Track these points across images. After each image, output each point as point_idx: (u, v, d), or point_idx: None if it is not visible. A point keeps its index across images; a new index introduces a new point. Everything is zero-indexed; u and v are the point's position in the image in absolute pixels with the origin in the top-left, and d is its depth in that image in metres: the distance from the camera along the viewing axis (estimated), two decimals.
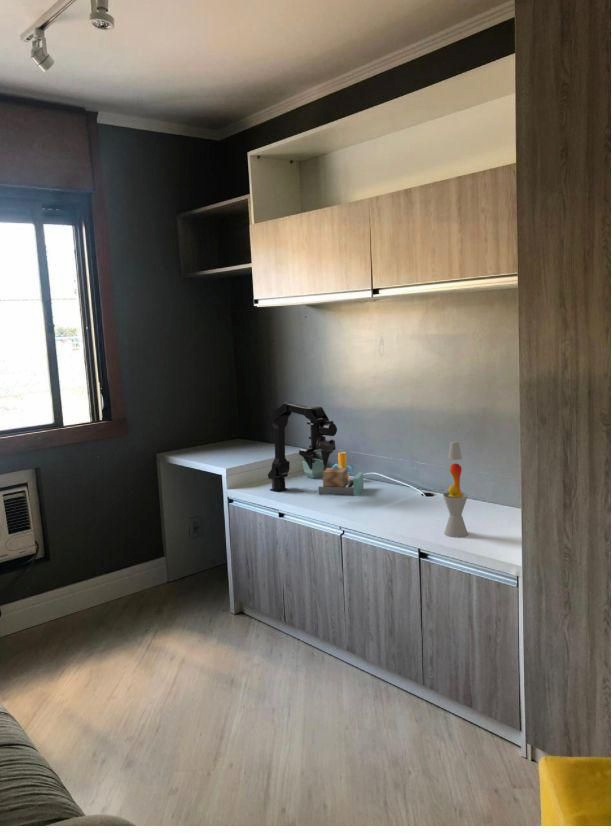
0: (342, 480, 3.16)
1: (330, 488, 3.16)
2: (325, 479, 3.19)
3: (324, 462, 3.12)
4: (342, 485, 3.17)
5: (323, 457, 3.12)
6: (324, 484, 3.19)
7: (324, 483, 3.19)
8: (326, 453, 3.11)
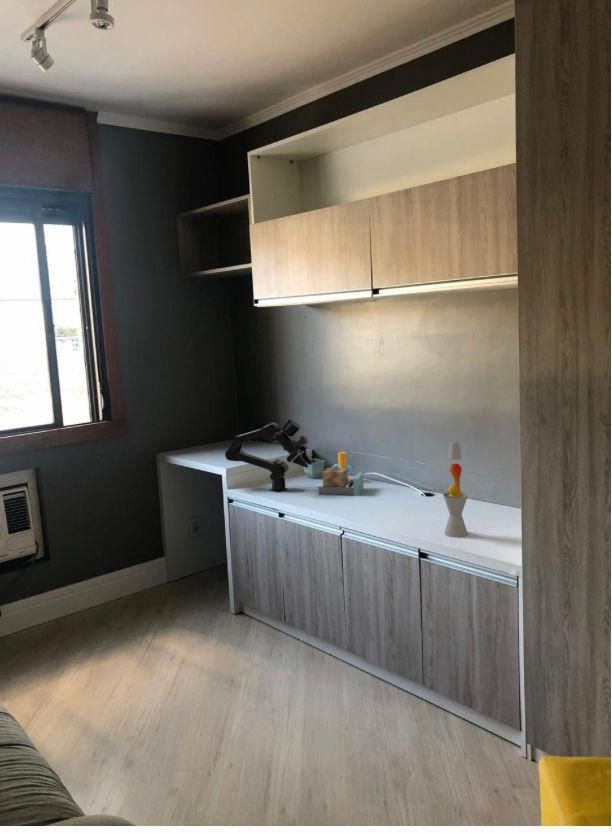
0: (342, 480, 3.16)
1: (330, 488, 3.16)
2: (325, 479, 3.19)
3: (308, 462, 3.28)
4: (342, 485, 3.17)
5: (304, 459, 3.28)
6: (324, 484, 3.19)
7: (324, 483, 3.19)
8: (303, 454, 3.28)
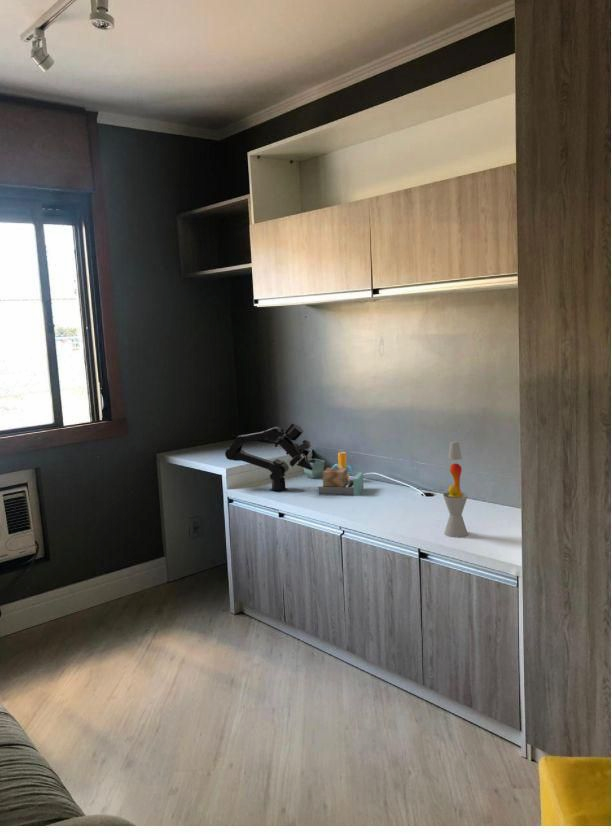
0: (342, 480, 3.16)
1: (330, 488, 3.16)
2: (325, 479, 3.19)
3: None
4: (342, 485, 3.17)
5: None
6: (324, 484, 3.19)
7: (324, 483, 3.19)
8: None
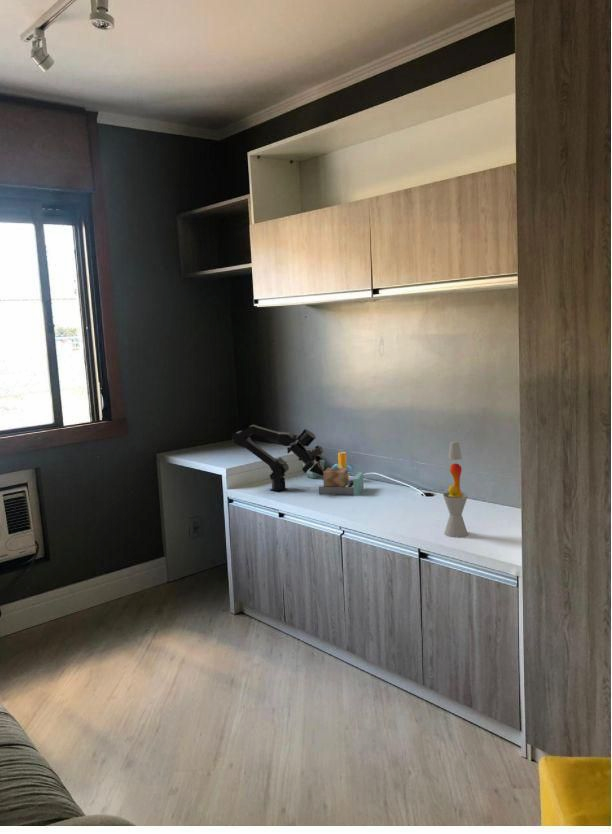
0: (343, 480, 3.16)
1: (330, 488, 3.16)
2: (325, 479, 3.19)
3: None
4: (343, 485, 3.17)
5: None
6: (325, 484, 3.19)
7: (325, 483, 3.19)
8: None
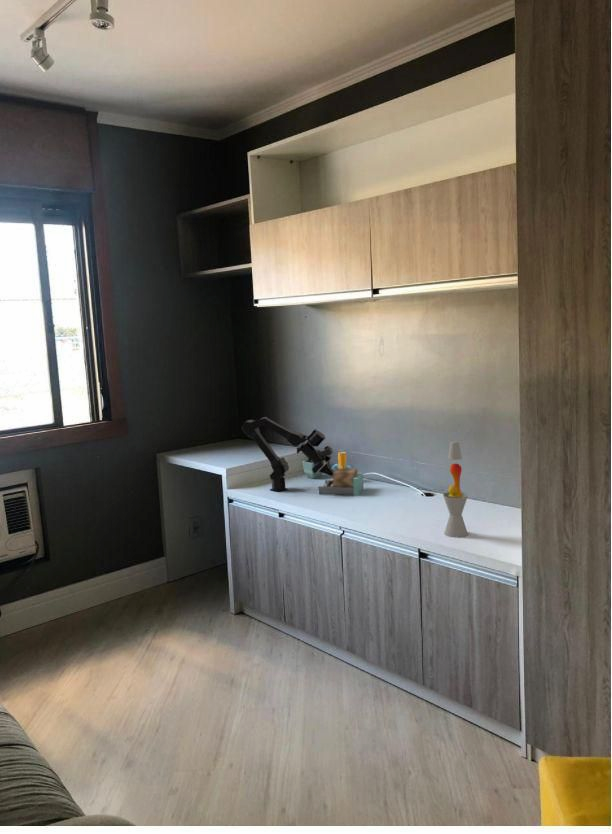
0: (352, 480, 3.15)
1: (330, 488, 3.16)
2: (335, 480, 3.17)
3: None
4: (352, 485, 3.15)
5: None
6: (334, 484, 3.18)
7: (334, 483, 3.18)
8: None
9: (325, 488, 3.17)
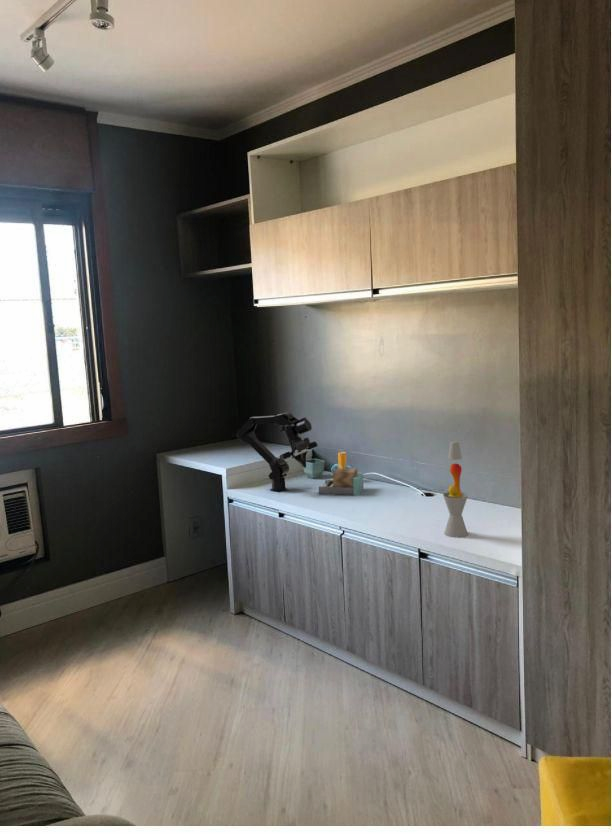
0: (352, 480, 3.15)
1: (330, 488, 3.16)
2: (335, 480, 3.17)
3: None
4: (352, 485, 3.15)
5: None
6: (334, 484, 3.18)
7: (334, 483, 3.18)
8: (302, 455, 3.22)
9: (325, 488, 3.17)
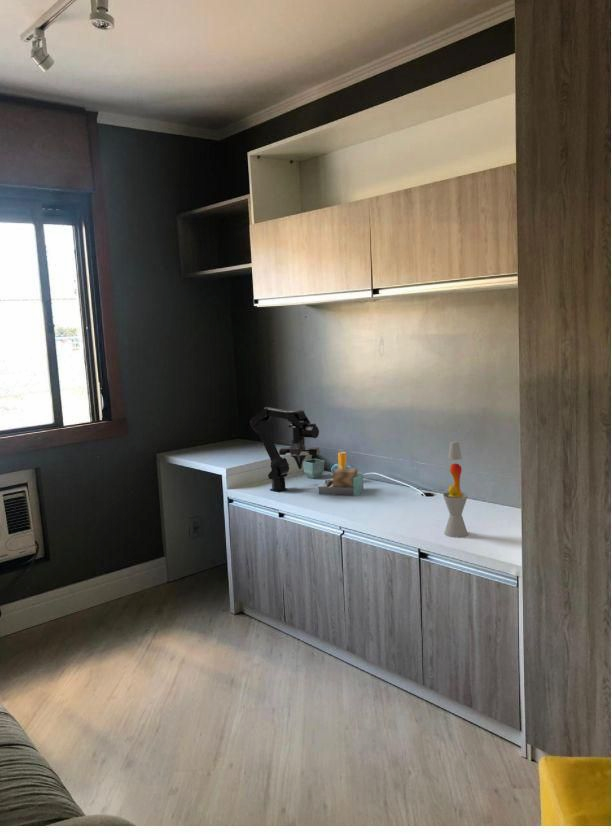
0: (352, 480, 3.15)
1: (330, 488, 3.16)
2: (335, 480, 3.17)
3: None
4: (352, 485, 3.15)
5: None
6: (334, 484, 3.18)
7: (334, 483, 3.18)
8: None
9: (325, 488, 3.17)
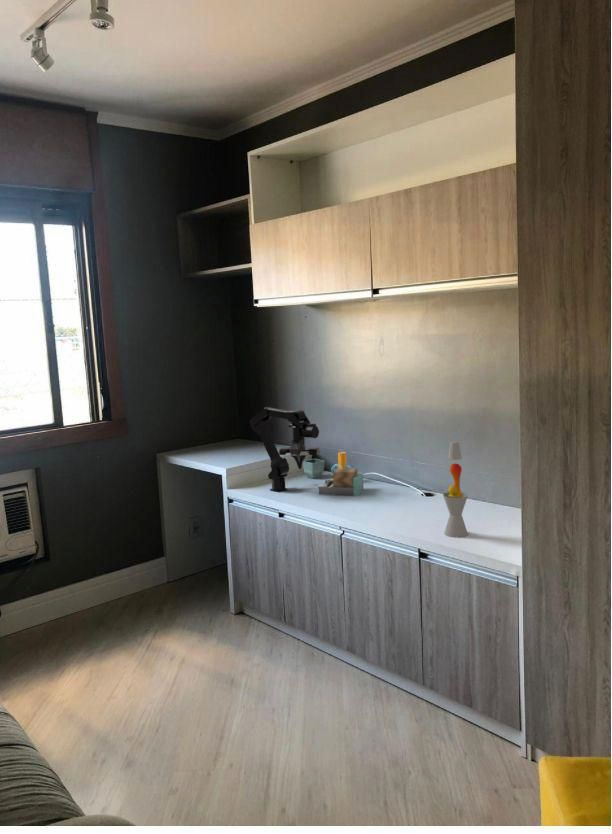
0: (352, 480, 3.15)
1: (330, 488, 3.16)
2: (335, 480, 3.17)
3: None
4: (352, 485, 3.15)
5: None
6: (334, 484, 3.18)
7: (334, 483, 3.18)
8: None
9: (325, 488, 3.17)
